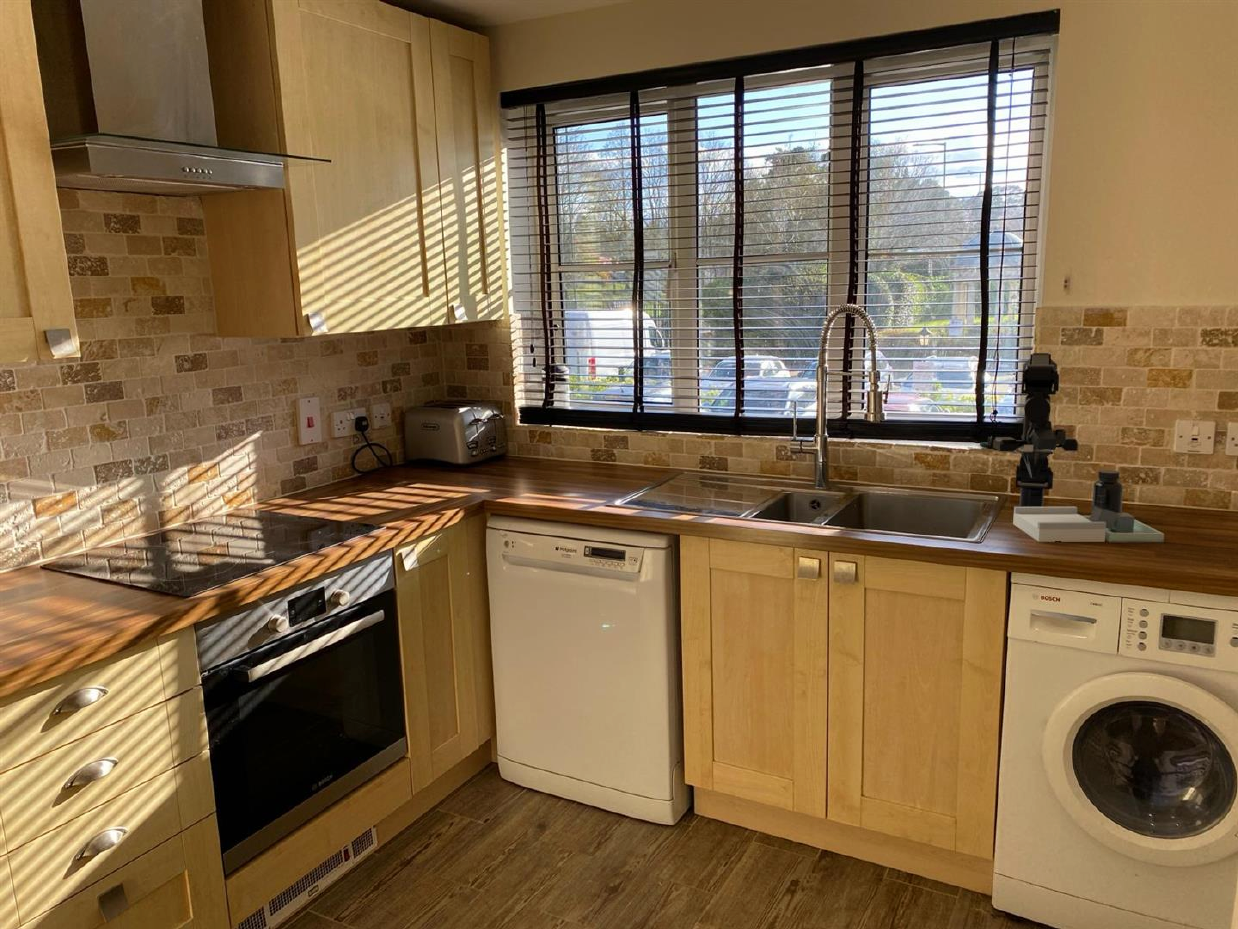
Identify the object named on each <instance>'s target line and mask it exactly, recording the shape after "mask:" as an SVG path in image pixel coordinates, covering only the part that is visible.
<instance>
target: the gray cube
mask: <svg viewBox="0 0 1238 929" xmlns="http://www.w3.org/2000/svg"><path fill="white" fill-rule="evenodd" d="M1117 514H1118V516H1117V519H1116V521H1115V524H1114V526H1113V529H1112V531H1114V532H1116V533H1133V529H1134V519H1135V515H1132V514H1130V513H1128V512H1121V513H1117ZM1110 530H1111V529H1110Z"/></svg>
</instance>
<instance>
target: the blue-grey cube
mask: <svg viewBox="0 0 1238 929" xmlns="http://www.w3.org/2000/svg"><path fill="white" fill-rule="evenodd" d="M1090 516H1091V517H1090V519H1089V520H1090V521H1092V522H1105V523H1106V528H1108V529H1111V530H1112V529H1113V526H1114V524H1115V521H1116V519H1117V516H1118V514H1117V513H1115V512H1113V511H1111V510H1107V509H1104V508H1100V507H1097V506H1094V509H1093V511H1092V510H1091V514H1090Z"/></svg>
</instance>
